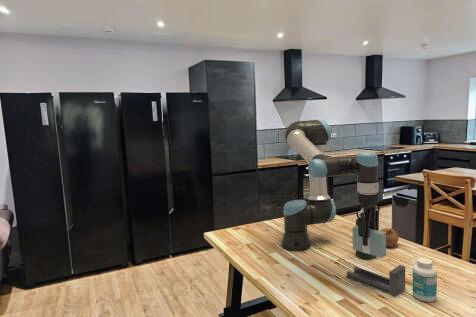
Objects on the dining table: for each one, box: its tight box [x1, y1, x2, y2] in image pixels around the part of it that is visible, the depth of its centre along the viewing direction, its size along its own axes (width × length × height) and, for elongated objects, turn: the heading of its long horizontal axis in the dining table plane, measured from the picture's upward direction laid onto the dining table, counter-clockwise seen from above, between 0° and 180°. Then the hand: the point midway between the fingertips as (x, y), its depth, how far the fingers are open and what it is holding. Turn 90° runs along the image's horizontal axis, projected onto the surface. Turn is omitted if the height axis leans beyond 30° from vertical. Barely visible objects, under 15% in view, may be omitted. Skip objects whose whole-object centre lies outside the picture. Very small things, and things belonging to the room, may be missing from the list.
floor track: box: [345, 264, 406, 297], centre depth 124 cm, size 20×8×9 cm, turn 38°
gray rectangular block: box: [351, 225, 387, 259], centre depth 124 cm, size 12×3×9 cm, turn 38°
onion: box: [380, 227, 400, 248], centre depth 158 cm, size 10×9×10 cm
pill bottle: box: [412, 257, 438, 303], centre depth 112 cm, size 8×7×14 cm
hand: (369, 251), depth 124 cm, fingers closed on gray rectangular block, 3 cm apart
